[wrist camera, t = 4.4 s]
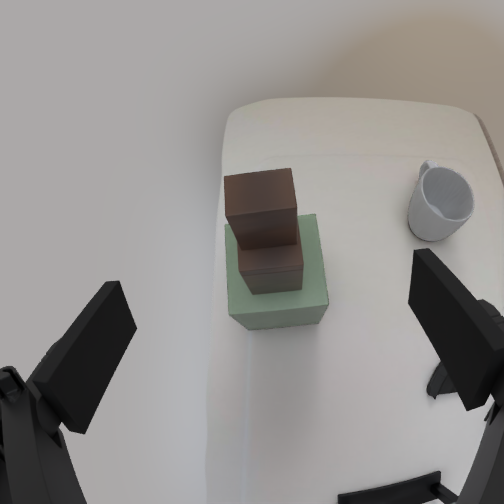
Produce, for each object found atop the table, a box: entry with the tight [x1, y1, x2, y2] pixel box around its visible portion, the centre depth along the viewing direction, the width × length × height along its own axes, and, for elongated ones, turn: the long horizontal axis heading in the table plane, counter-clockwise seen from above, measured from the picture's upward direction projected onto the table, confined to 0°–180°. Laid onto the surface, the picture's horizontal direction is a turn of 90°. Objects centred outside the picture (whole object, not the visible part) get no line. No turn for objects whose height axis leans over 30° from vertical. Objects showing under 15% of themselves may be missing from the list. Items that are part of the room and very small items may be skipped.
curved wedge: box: [427, 361, 457, 399], centre depth 37 cm, size 8×14×2 cm, turn 106°
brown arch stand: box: [224, 168, 304, 295], centre depth 27 cm, size 5×6×14 cm
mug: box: [408, 160, 474, 241], centre depth 43 cm, size 13×9×10 cm
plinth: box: [225, 214, 329, 330], centre depth 40 cm, size 10×10×14 cm
